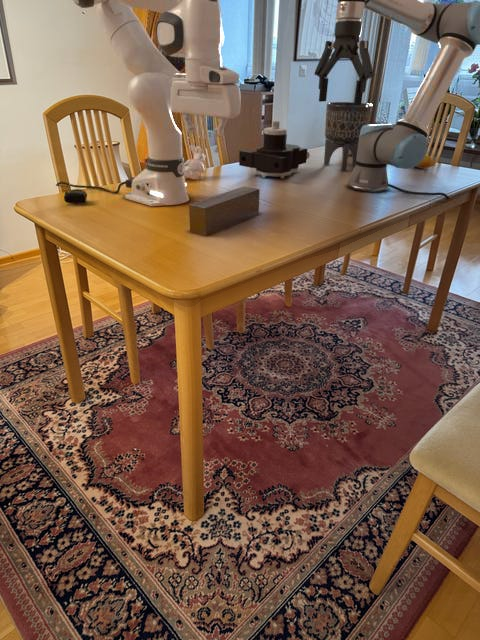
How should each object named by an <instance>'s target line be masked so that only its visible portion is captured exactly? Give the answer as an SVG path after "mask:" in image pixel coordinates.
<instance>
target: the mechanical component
mask: <svg viewBox="0 0 480 640" xmlns="http://www.w3.org/2000/svg"><path fill="white" fill-rule="evenodd" d="M287 138H288V129H287V128H286V127H280V121H279V120H272V126H271V127H265V128H264V129H263V145H262V146H258V147H257V148H256V151H250V150H245V149H241V150H239V153H238V154H239V155H238V157H239V159H238V166H240V167H245V168H250V169H255V173H256V174H257V175H261V177H262V178H267V177H279V178H280V179H285V176H291V175H292V173H298V171H299V167H300V165H303V164H304V165H305V164H307V160H309V158H310V156H311V154H310V152H309V151H308V148H304V147H301V146H299V145H297V144H290V143H287Z"/></svg>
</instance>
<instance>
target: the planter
mask: <svg viewBox="0 0 480 640" xmlns="http://www.w3.org/2000/svg"><path fill="white" fill-rule="evenodd" d="M373 107H374V106H373V104H372V103H367V102H362V103H361V105H354V101H333V102H327V103H326V109H325V124H324V125H325V126H324V139H325V144H324V156H323V157H324V158H323V165H325V166H328V165H330V163H331V158H332V156H333V154H334V153H335V151H336V150H337V149H340V148H341V150H342V153H341V166H340V170H341V172H345V171H347V167H348V166H347V165H348V159H349V155H348V152H349V150H350V151H351V153H352V155H351V157H352V158H351V159H352V160H351V161H352V166H353V167H355V165H356V158H357V150H358V142H359V135H360V131H361V128H362V127H363V126H364V125H370V121H371V116H372V112H373Z"/></svg>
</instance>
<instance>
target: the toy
mask: <svg viewBox="0 0 480 640" xmlns="http://www.w3.org/2000/svg"><path fill="white" fill-rule="evenodd" d="M436 164H437V163H436V160H434V159H432V158H431V157H430V156H429V155H428V154H426V155H425V157H424V158H423V160H422V161H421V162H420V163H419V164H418V165H416V166H415V167H418V168H420V169H428V168H432V167H434V166H435V165H436Z"/></svg>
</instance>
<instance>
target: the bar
mask: <svg viewBox="0 0 480 640" xmlns="http://www.w3.org/2000/svg"><path fill="white" fill-rule="evenodd" d="M260 192H261V191H260V188H257V187H251V186H247V185H246V186H245V185H244V186H241V187H238V188H234V189H232V190H229V191H225V192H222V193H220V194H216V195H212V196H210V197H207V198H204V199H201V200H198V201H195V202H192V203H189V204H188V215H189V217H188V218H189V232H190V233H194V234H197V235H201V236H204V237H207V236H209V235H212V234H214V233H217V232H219V231H222V230H224V229H226V228H228V227H230V226H233V225H236V224H238V223H240V222H243V221H245V220H248V219H250V218H252V217H254V216H257V215H259V214H260V213H259V212H260Z"/></svg>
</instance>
